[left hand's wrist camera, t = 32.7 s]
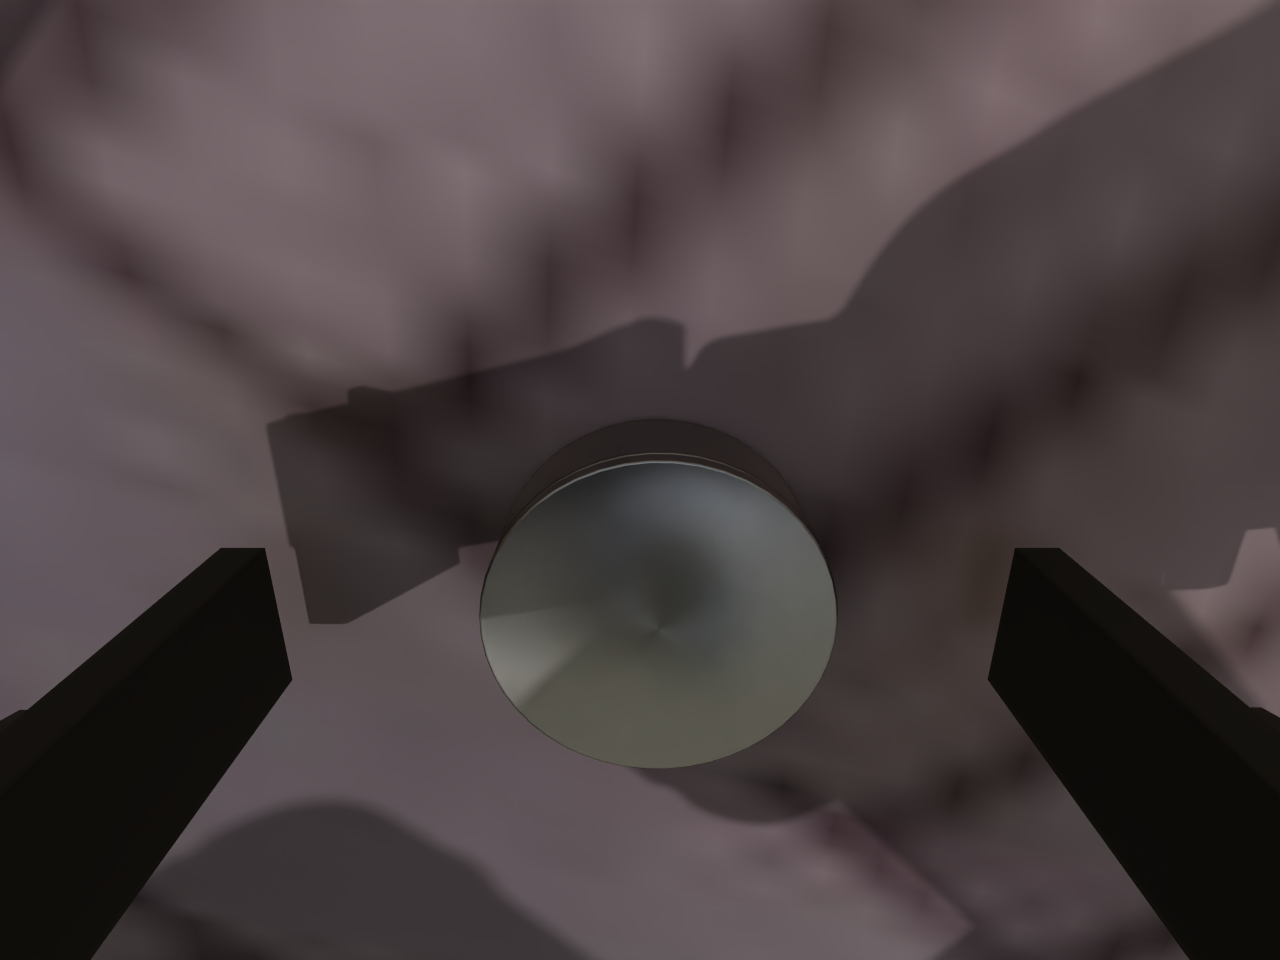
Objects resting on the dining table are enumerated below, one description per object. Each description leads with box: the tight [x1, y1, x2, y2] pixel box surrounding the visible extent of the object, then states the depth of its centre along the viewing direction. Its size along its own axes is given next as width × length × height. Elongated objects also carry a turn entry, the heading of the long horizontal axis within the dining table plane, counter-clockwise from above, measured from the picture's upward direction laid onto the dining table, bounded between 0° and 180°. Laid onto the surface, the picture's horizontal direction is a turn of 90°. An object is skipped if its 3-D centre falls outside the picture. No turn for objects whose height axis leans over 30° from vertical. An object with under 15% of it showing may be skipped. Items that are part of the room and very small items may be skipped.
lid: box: [479, 420, 838, 769], centre depth 13 cm, size 6×6×2 cm
